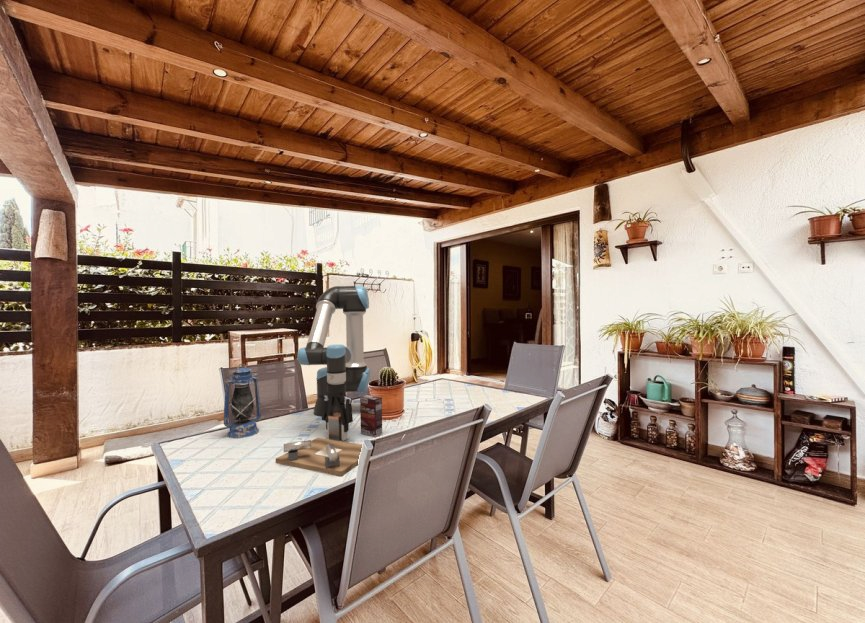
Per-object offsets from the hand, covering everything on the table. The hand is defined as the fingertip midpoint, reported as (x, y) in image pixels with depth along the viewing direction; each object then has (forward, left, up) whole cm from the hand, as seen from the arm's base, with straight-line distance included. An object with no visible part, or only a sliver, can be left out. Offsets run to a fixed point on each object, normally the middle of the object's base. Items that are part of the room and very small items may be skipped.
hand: (337, 438), depth 153 cm
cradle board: (+16, +8, 0) cm, 18 cm away
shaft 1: (+23, 0, +1) cm, 23 cm away
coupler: (0, 0, 0) cm, 0 cm away
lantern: (+9, -43, 0) cm, 44 cm away
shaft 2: (+23, +15, +1) cm, 28 cm away
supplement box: (-10, +10, 0) cm, 14 cm away
